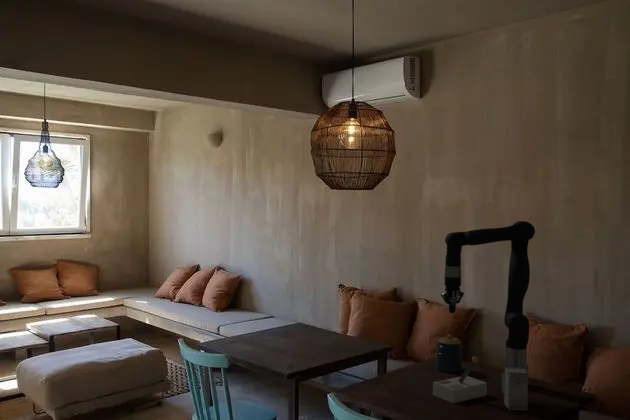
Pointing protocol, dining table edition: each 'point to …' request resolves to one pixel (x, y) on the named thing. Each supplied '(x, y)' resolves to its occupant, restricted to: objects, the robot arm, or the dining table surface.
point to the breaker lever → (468, 369)
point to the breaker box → (459, 389)
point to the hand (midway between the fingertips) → (452, 312)
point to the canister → (449, 354)
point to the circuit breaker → (515, 388)
